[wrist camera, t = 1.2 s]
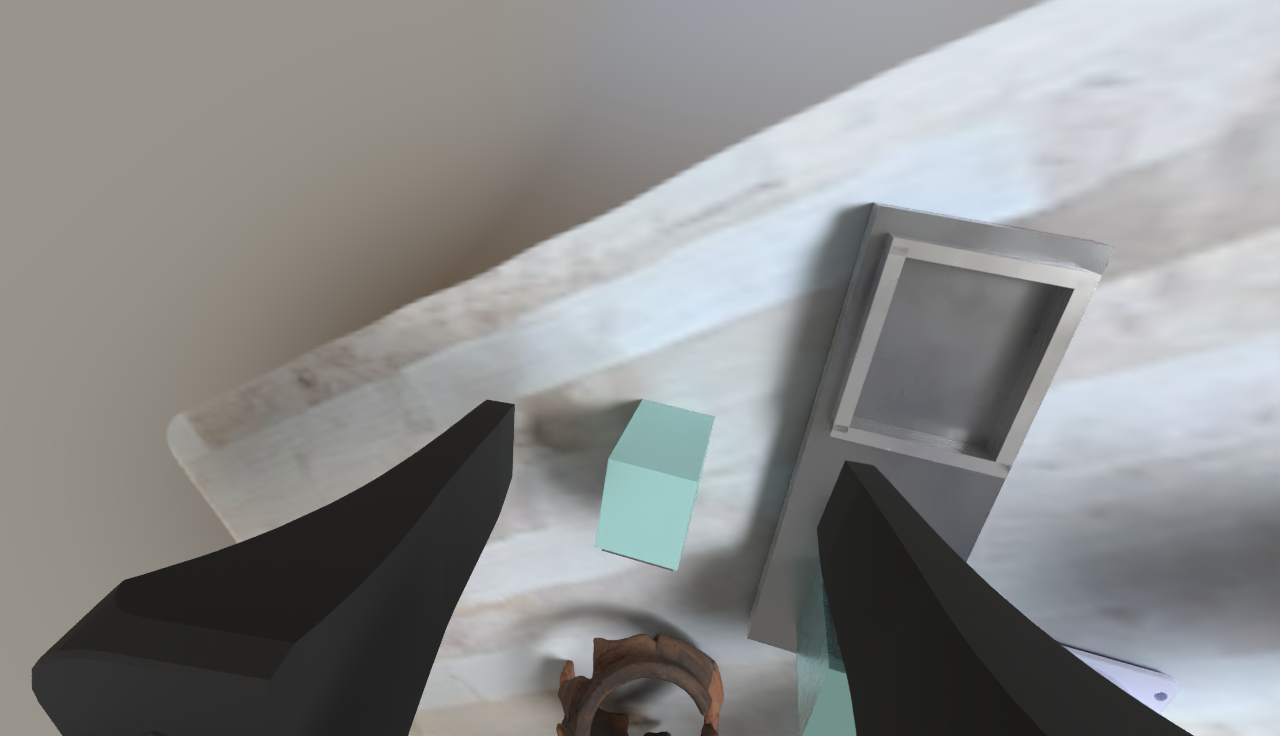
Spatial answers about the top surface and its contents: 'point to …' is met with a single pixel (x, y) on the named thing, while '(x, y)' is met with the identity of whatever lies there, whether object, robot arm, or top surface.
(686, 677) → the brown looped piece
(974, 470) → the grey long flat piece
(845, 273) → the top surface
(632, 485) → the pale aqua cube
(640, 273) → the top surface
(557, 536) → the top surface
